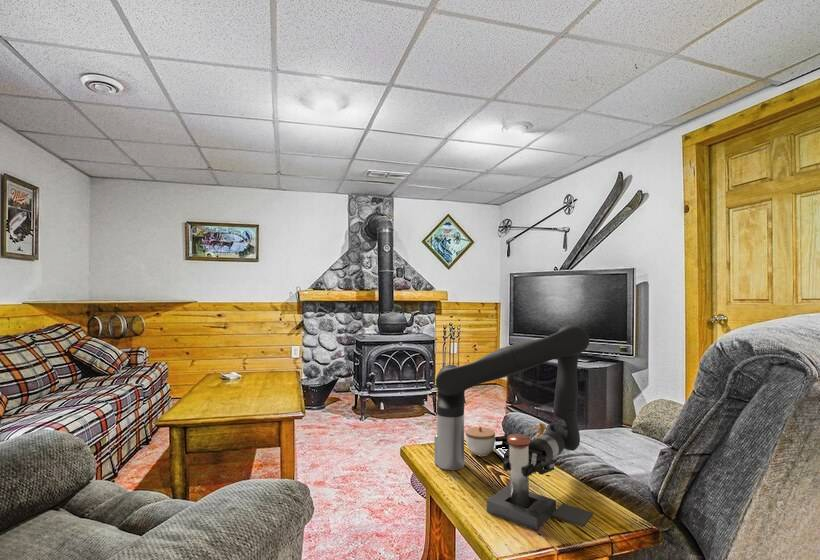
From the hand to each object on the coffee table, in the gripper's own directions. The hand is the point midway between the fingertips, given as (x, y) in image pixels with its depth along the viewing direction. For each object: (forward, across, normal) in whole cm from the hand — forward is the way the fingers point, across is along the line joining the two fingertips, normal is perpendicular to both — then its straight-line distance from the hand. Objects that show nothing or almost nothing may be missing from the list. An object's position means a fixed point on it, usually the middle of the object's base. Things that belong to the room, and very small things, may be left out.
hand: (514, 469), depth 113 cm
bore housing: (-3, +1, +12) cm, 12 cm away
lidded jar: (-32, -29, +12) cm, 45 cm away
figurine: (-42, -11, +12) cm, 45 cm away
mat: (-10, +12, +12) cm, 19 cm away
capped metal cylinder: (-3, 0, +10) cm, 10 cm away
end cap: (-36, -19, +12) cm, 42 cm away
